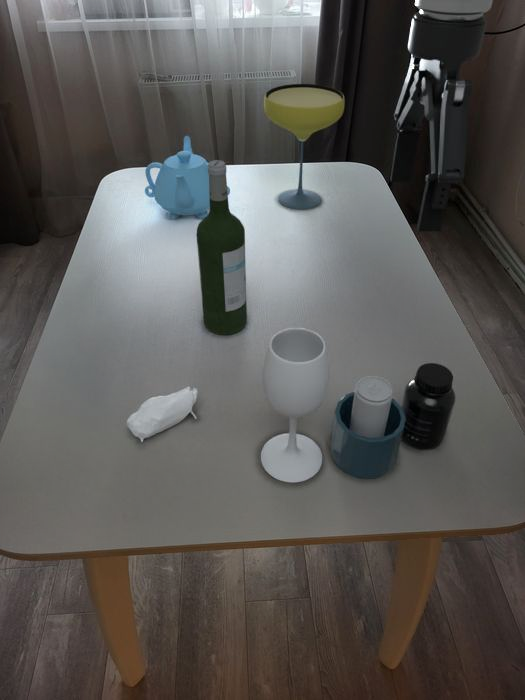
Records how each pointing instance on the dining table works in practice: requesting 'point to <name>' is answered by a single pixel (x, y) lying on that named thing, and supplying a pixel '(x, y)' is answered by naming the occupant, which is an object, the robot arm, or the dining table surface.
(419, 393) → the supplement bottle
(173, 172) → the teapot
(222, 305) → the wine bottle
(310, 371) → the wineglass
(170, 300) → the dining table surface
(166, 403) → the white oblong lump
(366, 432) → the beverage can
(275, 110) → the cocktail glass
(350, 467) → the cup
